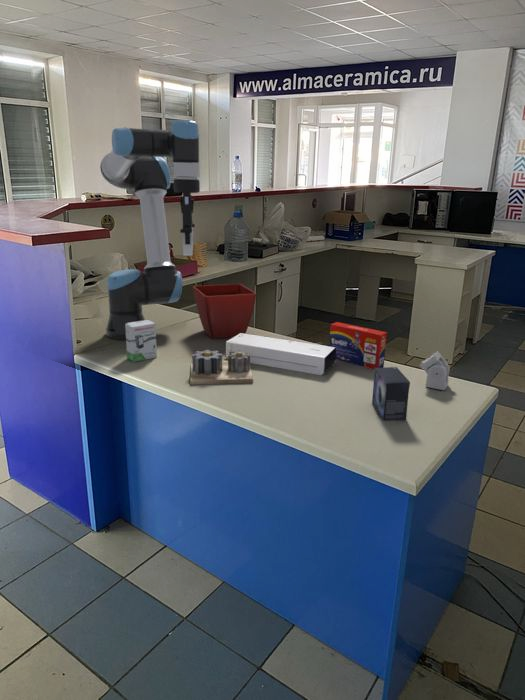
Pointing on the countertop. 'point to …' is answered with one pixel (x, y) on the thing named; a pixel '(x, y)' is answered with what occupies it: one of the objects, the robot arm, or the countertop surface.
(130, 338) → the ink box
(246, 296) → the plant pot
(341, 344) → the toy box
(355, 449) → the countertop surface
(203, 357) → the planet gear
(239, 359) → the gear puzzle board
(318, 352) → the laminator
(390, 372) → the small box
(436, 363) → the mechanical component
